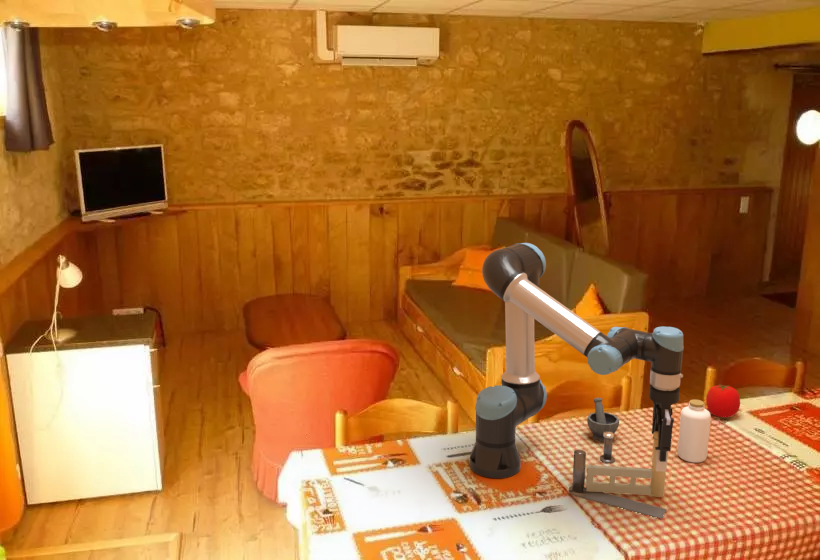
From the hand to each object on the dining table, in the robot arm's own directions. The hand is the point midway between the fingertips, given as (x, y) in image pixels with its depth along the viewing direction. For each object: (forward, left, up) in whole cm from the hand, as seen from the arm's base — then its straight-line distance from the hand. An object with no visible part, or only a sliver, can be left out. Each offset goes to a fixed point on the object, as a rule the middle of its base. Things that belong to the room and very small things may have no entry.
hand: (659, 466), depth 193 cm
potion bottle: (+4, +28, -9) cm, 30 cm away
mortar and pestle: (-23, +28, -9) cm, 38 cm away
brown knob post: (-19, -8, -9) cm, 23 cm away
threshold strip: (-8, -8, -9) cm, 15 cm away
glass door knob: (-17, +14, -9) cm, 24 cm away
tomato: (+8, +64, -9) cm, 65 cm away
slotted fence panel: (-8, -3, -8) cm, 12 cm away
